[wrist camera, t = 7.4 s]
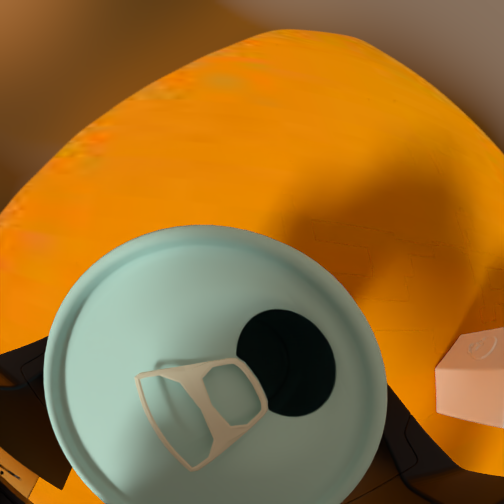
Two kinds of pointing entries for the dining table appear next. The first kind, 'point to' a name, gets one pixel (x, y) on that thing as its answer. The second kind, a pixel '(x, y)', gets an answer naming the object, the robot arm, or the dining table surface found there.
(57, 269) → the dining table surface
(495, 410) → the jar
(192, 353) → the can
